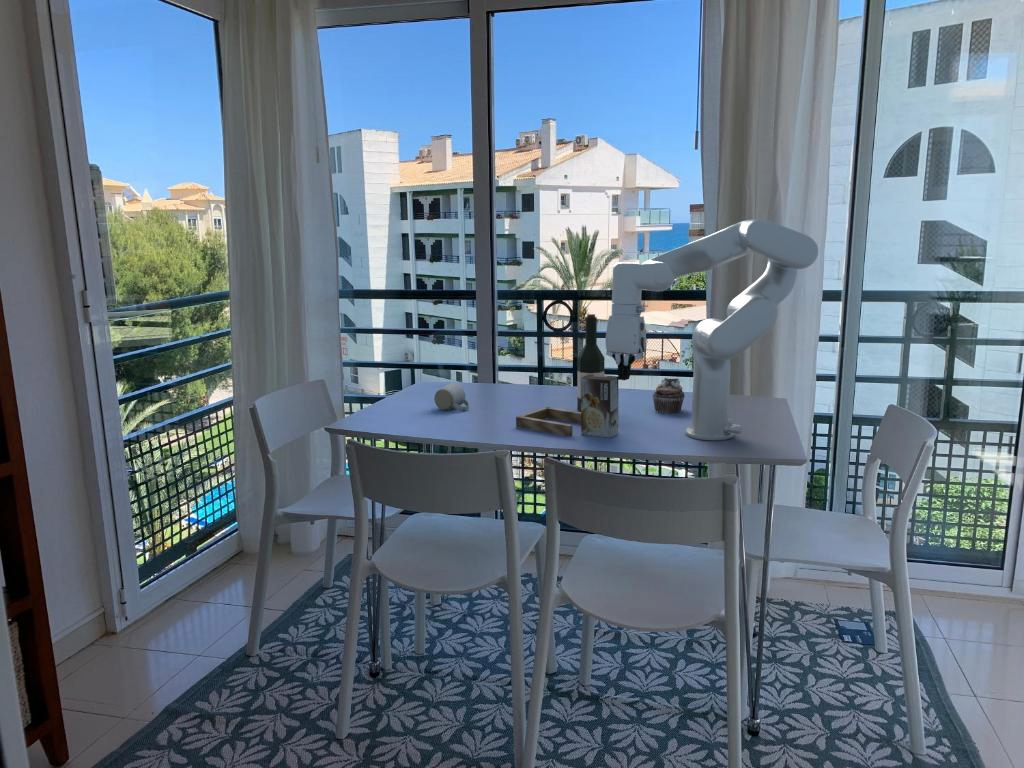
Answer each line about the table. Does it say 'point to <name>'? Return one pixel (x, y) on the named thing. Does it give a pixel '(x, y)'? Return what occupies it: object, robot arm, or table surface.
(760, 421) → the table surface
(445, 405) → the ceramic mug
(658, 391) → the cupcake
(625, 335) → the robot arm
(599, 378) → the coffee box
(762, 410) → the table surface
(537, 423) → the u rest
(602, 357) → the wine bottle
